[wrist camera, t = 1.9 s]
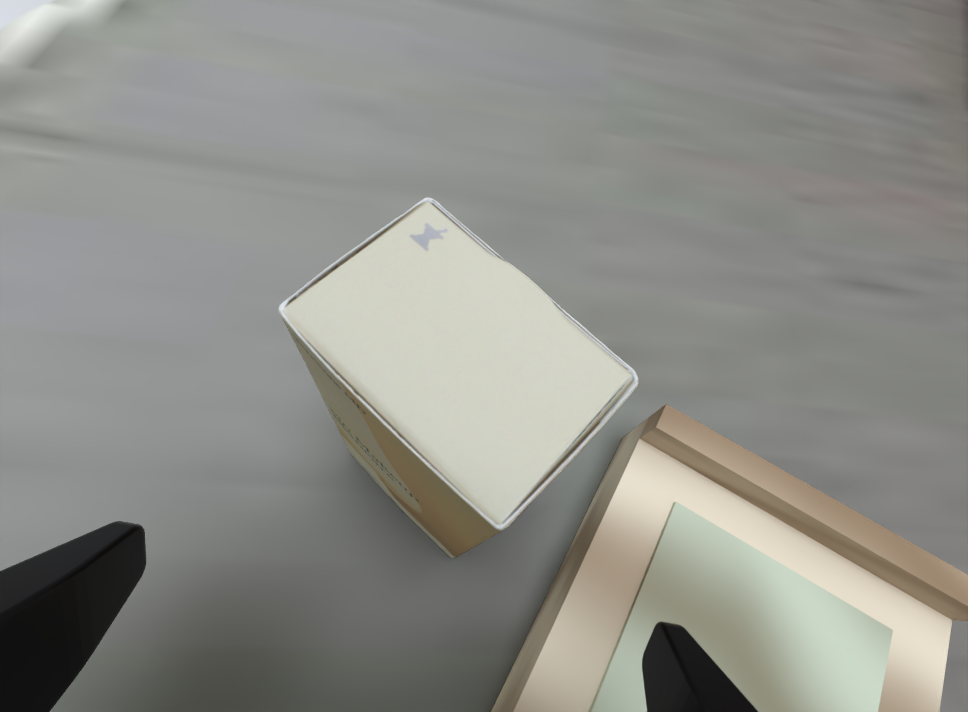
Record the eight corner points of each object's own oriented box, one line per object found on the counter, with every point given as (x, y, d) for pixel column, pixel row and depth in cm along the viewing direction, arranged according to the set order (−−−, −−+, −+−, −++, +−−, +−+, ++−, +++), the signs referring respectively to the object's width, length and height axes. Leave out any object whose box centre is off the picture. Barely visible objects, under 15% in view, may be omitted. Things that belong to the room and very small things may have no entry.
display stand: (813, 959, 16) (948, 1086, 12) (482, 729, 17) (500, 772, 13) (886, 592, 21) (999, 593, 17) (622, 437, 22) (666, 404, 18)
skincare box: (345, 451, 21) (254, 296, 10) (422, 382, 22) (419, 180, 11) (458, 569, 19) (501, 543, 8) (532, 486, 21) (650, 372, 10)
